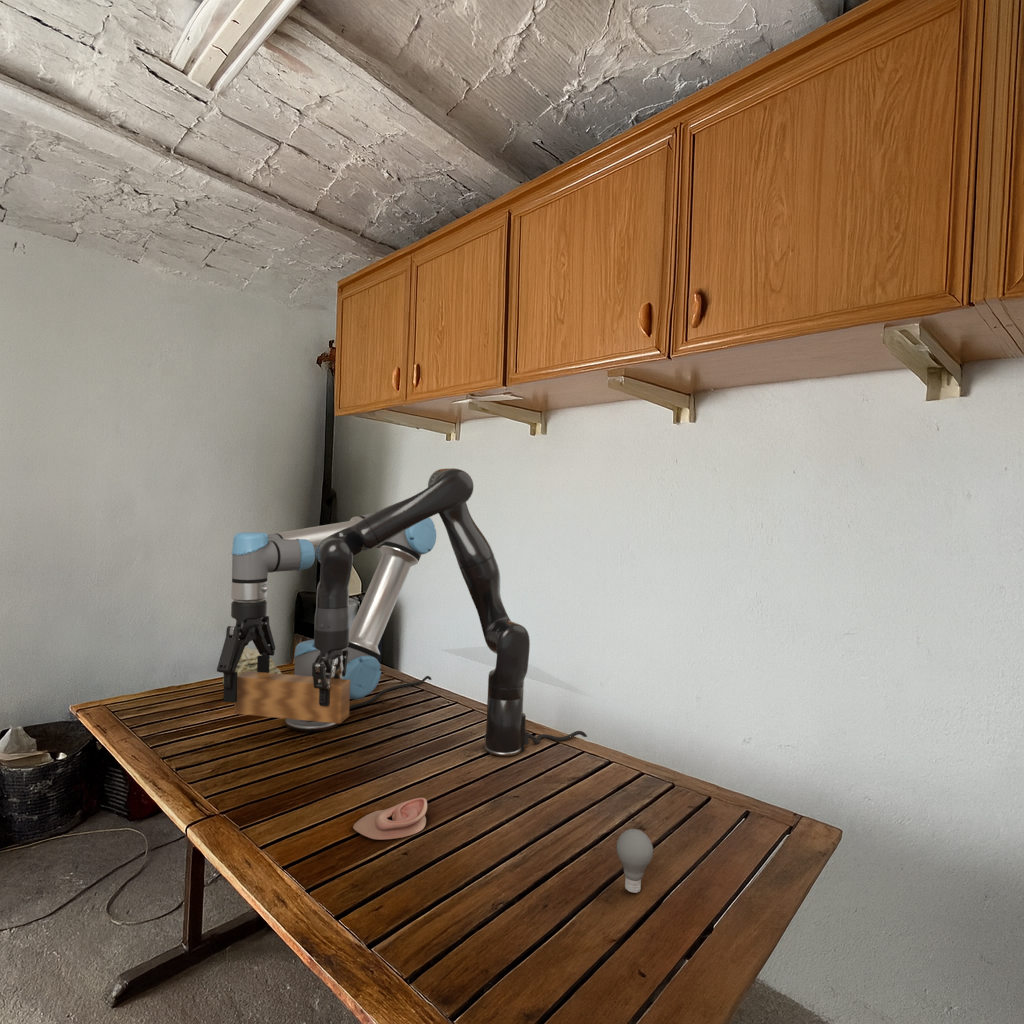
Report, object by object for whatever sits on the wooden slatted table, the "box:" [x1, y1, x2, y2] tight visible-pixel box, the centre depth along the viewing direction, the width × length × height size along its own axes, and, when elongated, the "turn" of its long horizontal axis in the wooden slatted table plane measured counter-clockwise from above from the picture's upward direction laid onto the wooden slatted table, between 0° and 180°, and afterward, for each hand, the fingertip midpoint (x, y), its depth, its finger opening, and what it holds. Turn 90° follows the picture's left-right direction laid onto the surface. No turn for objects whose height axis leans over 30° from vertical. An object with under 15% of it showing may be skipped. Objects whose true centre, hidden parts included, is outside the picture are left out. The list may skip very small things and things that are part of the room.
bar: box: [233, 671, 351, 725], centre depth 144 cm, size 25×5×8 cm, turn 81°
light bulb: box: [615, 828, 654, 894], centre depth 106 cm, size 6×6×10 cm
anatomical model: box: [352, 797, 428, 841], centre depth 123 cm, size 13×4×12 cm
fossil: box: [222, 646, 283, 686], centre depth 198 cm, size 9×18×15 cm, turn 132°
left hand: (247, 692), depth 145 cm, fingers open, 13 cm apart
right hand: (329, 701), depth 142 cm, fingers closed on bar, 5 cm apart
